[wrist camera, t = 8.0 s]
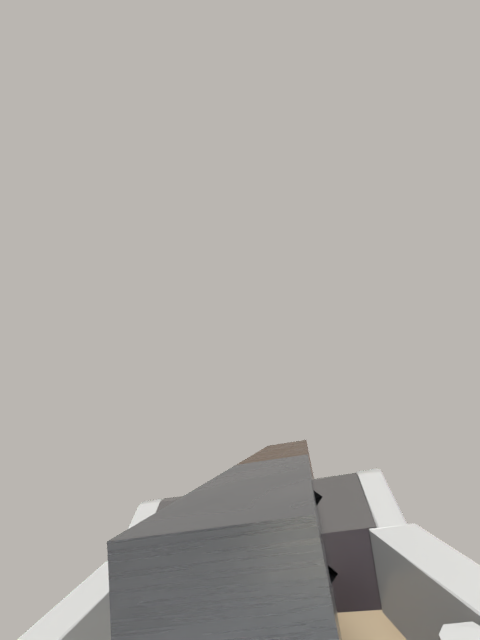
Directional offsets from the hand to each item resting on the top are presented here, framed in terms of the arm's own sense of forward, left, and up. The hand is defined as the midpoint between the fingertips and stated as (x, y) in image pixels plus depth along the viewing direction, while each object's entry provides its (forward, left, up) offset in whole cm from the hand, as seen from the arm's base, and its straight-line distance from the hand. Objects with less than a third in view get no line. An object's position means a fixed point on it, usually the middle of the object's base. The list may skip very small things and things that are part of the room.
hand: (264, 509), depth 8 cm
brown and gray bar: (0, +5, -2) cm, 5 cm away
